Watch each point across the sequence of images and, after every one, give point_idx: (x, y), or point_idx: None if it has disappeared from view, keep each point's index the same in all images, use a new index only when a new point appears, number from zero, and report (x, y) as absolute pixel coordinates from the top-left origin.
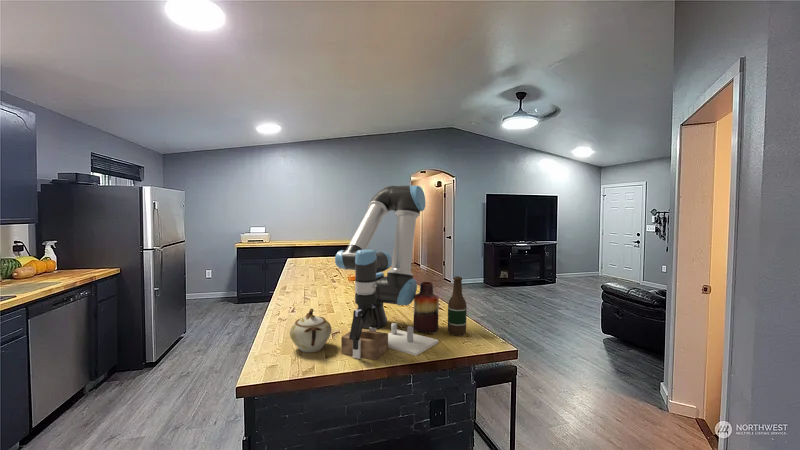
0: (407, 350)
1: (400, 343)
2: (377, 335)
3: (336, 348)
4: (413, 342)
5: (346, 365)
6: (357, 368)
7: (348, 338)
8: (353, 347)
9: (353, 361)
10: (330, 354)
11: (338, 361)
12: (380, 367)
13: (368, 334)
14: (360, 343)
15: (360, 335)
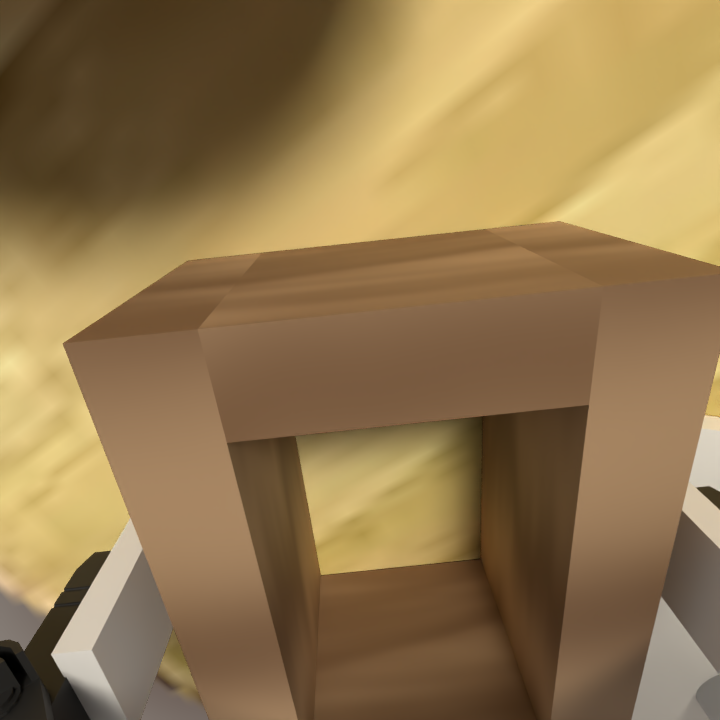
0: None
1: (652, 657)
2: (541, 687)
3: (289, 69)
4: (701, 714)
5: (4, 483)
6: (39, 581)
7: (123, 496)
8: (75, 583)
9: None
10: (68, 137)
11: (3, 366)
12: (181, 685)
13: (548, 578)
14: (150, 669)
15: (542, 431)
